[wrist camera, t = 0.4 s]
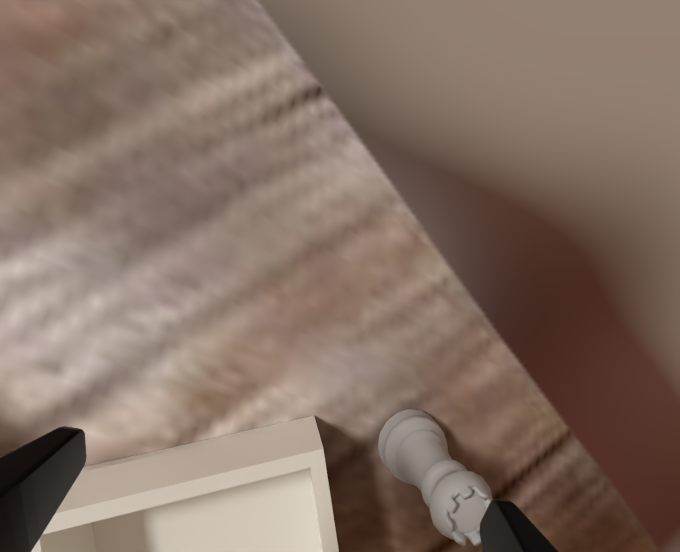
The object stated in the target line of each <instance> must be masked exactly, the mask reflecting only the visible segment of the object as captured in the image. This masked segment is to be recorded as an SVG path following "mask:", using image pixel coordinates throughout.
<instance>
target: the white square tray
mask: <svg viewBox="0 0 680 552" xmlns="http://www.w3.org/2000/svg"><path fill="white" fill-rule="evenodd" d="M31 552H339V549H338V543H337V536H336V529H335V523H334V516H333V509H332V503H331V496H330V489H329V483H328V476H327V470H326V463H325V456H324V450H323V446H322V442H321V438H320V435H319V431H318V427H317V424H316V420H315V417H314V416H310V417H306V418H301V419H297V420H292V421H288V422H283V423H279V424H274V425H270V426H265V427H261V428H256V429H252V430H247V431H243V432H239V433H234V434H230V435H225V436H221V437H216V438H212V439H207V440H203V441H198V442H194V443H189V444H185V445H180V446H176V447H171V448H167V449H162V450H158V451H154V452H149V453H145V454H140V455H136V456H131V457H127V458H122V459H118V460H113V461H109V462H104V463H100V464H95V465H91V466H86V467H83V469H82V471H81V473H80V474H79V476H78V477H77V479H76V481H75V482H74V484H73V485H72V487H71V489H70V490H69V492H68V494H67V495H66V497H65V498H64V500H63V502H62V503H61V505H60V506H59V508H58V510H57V511H56V513H55V515H54V516H53V518H52V519H51V521H50V523H49V524H48V526H47V527H46V529H45V531H44V532H43V534H42V536H41V537H40V539H39V540H38V542H37V543H36V545H35V546H34V548H33V549H32V551H31Z"/></svg>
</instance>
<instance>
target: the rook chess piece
mask: <svg viewBox="0 0 680 552" xmlns="http://www.w3.org/2000/svg"><path fill="white" fill-rule="evenodd" d="M378 449H379V454H380V458H381V460H382V462H383V463H384V464H385V466H386V467H387V468H388V470H389V471H390V472H391V473H392V475H393V476H394V477H396V478H397V479H399V480H401V481H403V482H405V483H406V484H412V485H414V486H416V487H417V488H418V489H419V490H420V491H421V492H422V496H423V500H424V502H425V504H426V505H427V506H428V508H429V509H430V513H431V518H432V522H433V524H434V526H435V527H436V528H437V530H438V531H439V532H440V534H442V535H444V536H446V537H448V538H450V539H454V540H455V542H456V543H458V544H460V545H462V546H464V547H465V544H466V539H469V540H470V542H471V543H472V544H473V546H474V547H475V546H478V545H480V544H481V538H480V535H479V534H480V530H479V529H480V522H481V520H482V518H483V516H484V514H485V512H486V510H487V508H488V506H489V504H490V502H491V501H492V500H493V499H492V495H491V490H490V487H489V486H488V484H487V483H486V481H485V480H484V479H483V477H481V476H479V475H478V474H476V473H474V472H471V471H467V469H466V468H465V467H464V465H462V464H461V463H459V462H457V461H455V460H452V458H451V457H450V455H449V453H448V446H447V442H446V438H445V434H444V432H443V431H442V429H441V428H440V427H439V425H438V424H437V422H435V421H434V420H433V418H432V417H431V416H430V415H428V414H426V413H425V412H423V411H421V410H413V409H407V410H404V411H401V412H398V413H396V414H395V415H394V416H393V417H391V418H390V419H389V420H388V421H387V422H386V423H385V425H384V427H383V429H382V431H381V432H380V436H379V443H378Z"/></svg>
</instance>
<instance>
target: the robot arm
mask: <svg viewBox="0 0 680 552" xmlns="http://www.w3.org/2000/svg"><path fill="white" fill-rule="evenodd" d="M85 462H86V445H85V433H84V431H83V430H82V429H78V428H72V427H65V426H64V427H60V428H57V429H55V430H53V431H51V432H49V433H47V434H45V435H43V436H41V437H39V438H37V439H35V440H33V441H32V442H30V443H28V444H26V445H24V446H22V447H20V448H18V449H16V450H14V451H12V452H10V453H8V454H6V455H4V456H2V457H0V552H31V551H32V549H33V548H34V546H35V545H36V543H37V542H38V540H39V539H40V537H41V536H42V534H43V532H44V531H45V529H46V527H47V526H48V524H49V523H50V521H51V519H52V518H53V516H54V515H55V513H56V511H57V510H58V508H59V506H60V505H61V503H62V502H63V500H64V498H65V497H66V495H67V494H68V492H69V490H70V489H71V487H72V485H73V484H74V482H75V481H76V479H77V477H78V476H79V474H80V473H81V471H82V469H83V467H84V465H85ZM479 530H480V538H481V544H482V549H483V552H558V551H557V550H556V549H555V548H554V547H553V546H552V544H551V543H550V542H549V541H548V540H547V539H546V538H545V537H544V536H543V535H542V533H541V532H540V531H539V530H538V529H537V528H536V527H535V526H534V525H533V524H532V523H531V521H530V520H529V519H528V518H527V517H526V516H525V515H524V514H523V513H522V512H521V510H520V509H519V508H518V507H517V506H516V505H515V504H514V503H512V502H511V501H507V500H501V499H493V500H492V501H491V502H490V504H489V506H488V508H487V510H486V512H485V514H484V516H483V518H482V520H481V522H480V529H479Z"/></svg>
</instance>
